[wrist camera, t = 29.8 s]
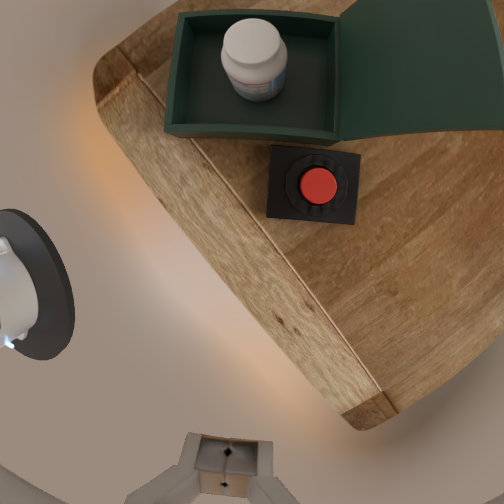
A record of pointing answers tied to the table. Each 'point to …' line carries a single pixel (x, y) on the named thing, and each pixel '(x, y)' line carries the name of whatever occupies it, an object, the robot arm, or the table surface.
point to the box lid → (420, 68)
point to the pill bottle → (255, 59)
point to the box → (245, 111)
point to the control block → (288, 184)
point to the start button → (318, 185)
